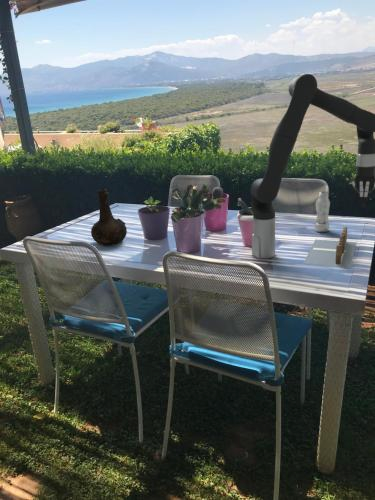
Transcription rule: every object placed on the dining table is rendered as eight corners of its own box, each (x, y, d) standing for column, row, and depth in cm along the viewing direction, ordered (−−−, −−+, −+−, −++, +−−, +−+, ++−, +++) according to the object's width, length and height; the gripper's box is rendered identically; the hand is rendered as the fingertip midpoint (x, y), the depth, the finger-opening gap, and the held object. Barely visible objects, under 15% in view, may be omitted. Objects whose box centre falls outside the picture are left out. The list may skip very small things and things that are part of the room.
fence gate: (344, 250, 177) (345, 235, 175) (339, 250, 178) (340, 235, 175) (346, 241, 188) (347, 226, 186) (342, 240, 189) (343, 226, 186)
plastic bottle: (329, 233, 202) (331, 193, 195) (315, 233, 203) (316, 193, 197) (328, 229, 208) (330, 190, 201) (314, 230, 209) (315, 191, 203)
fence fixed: (340, 264, 164) (341, 246, 162) (335, 264, 165) (336, 246, 163) (343, 252, 177) (344, 235, 174) (339, 252, 178) (339, 235, 175)
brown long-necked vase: (131, 245, 208) (124, 190, 198) (95, 251, 202) (86, 195, 193) (124, 235, 224) (117, 184, 214) (91, 241, 218) (82, 188, 209)
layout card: (350, 268, 161) (350, 267, 161) (303, 264, 169) (303, 263, 169) (356, 243, 187) (356, 242, 187) (315, 240, 195) (315, 239, 195)
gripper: (348, 166, 172) (345, 206, 178) (383, 165, 167) (379, 207, 172) (349, 163, 178) (347, 202, 184) (383, 162, 173) (380, 203, 179)
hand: (363, 204), depth 178 cm, fingers closed
